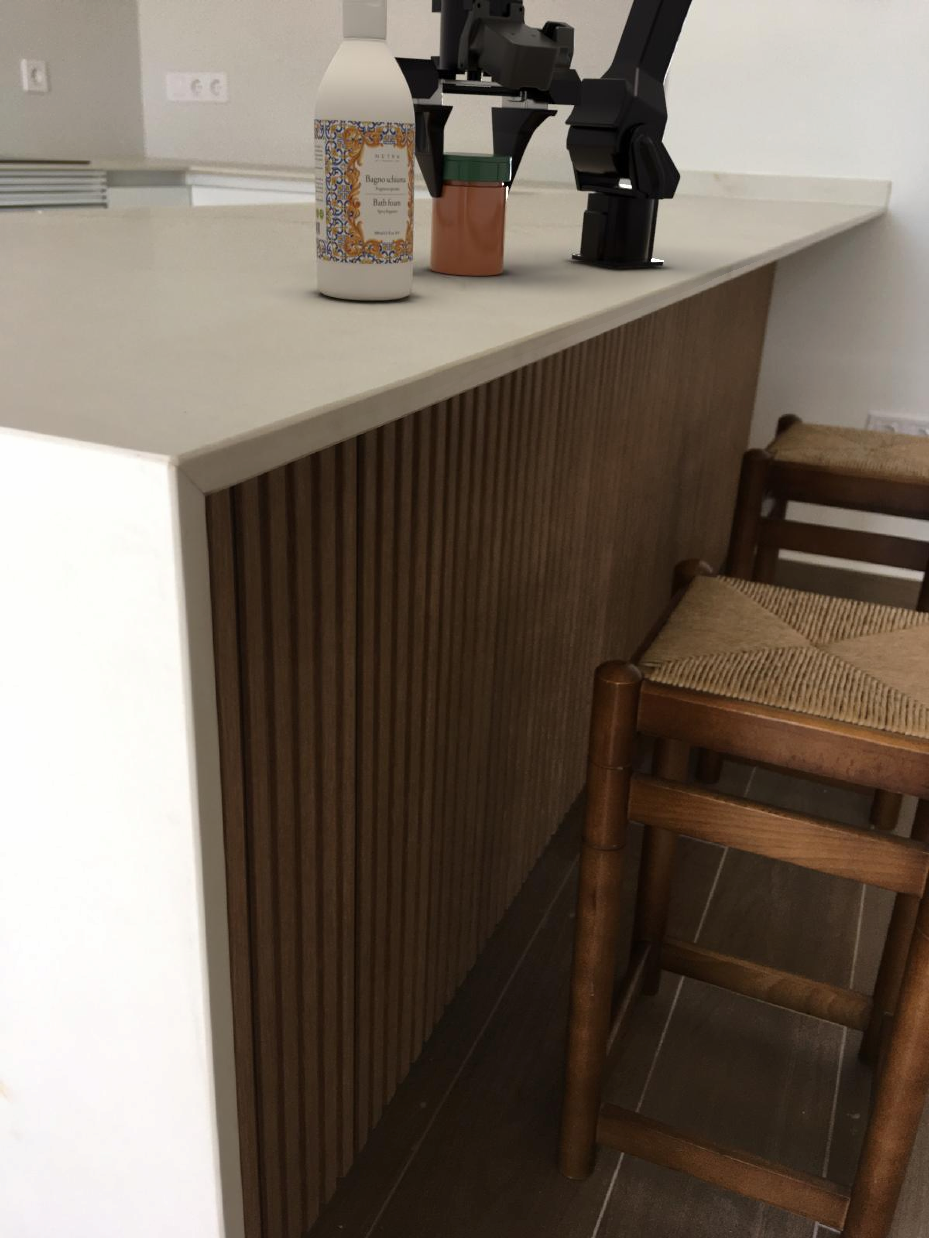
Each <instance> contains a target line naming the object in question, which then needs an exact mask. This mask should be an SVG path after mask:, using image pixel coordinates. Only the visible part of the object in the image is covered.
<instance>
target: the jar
mask: <svg viewBox="0 0 929 1238" xmlns="http://www.w3.org/2000/svg"><path fill="white" fill-rule="evenodd" d="M508 196H509V194H508V186H506V185H504V182H474V181H457V180H445V179H443V185H442V193H441V197H440V198H434V197H431V219H430V220H431V221H430V222H431V223H430V251H429V252H430V253H429V254H430V255H429V269H430V270H431V271H433V272H436V273H439V274H445V275H452V276H453V275H454V276H464V277H466V276H467V277H471V276H472V277H489V276H497V275H501V274H503V273H504V266H505V265H504V263H505V262H504V261H505V249H506V248H505V245H506V232H507V231H506V228H507V216H508V215H507V213H508Z"/></svg>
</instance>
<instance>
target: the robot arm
mask: <svg viewBox="0 0 929 1238" xmlns="http://www.w3.org/2000/svg"><path fill="white" fill-rule="evenodd" d="M692 3H693V0H633V1H632V4H631V7H630V10H629V12H628V15H627V18H626V21H625V25H624V28H623V30H622V33H621V37H620V39H619V41H618V45H617V47H616V51H615V54H614V57H613V59H612V62H611V64H610V66H609V68H607V70H606V71H605V72H604V73H603V74H602V75H601V77H600V78H597V77H596V78H594V77H593V78H592V77H589V78H587V77H584V78H582V80H581V78H580V76H579V74H578V72H577V69H576V68H571V66H572V63H573V59H574V55H575V27H573V26H572V25H570V24H568V23H566V22H565V21H564V22H563V21H552V20H547V21H546V22H545V23H544V25H543V27H542V28H540V27H531V26H529V25H527V24H526V22H525V21H526V20H525V15H526V14H525V13H526V12H525V11H526V9H525V5H524V0H431V13H433V14H440V16H439V17H440V21H439V55H430V59H428V58H413V57H401V56H400V57H399V56H394V58H395V60H396V62H397V64H398V65H399V67H400V69H401V71H402V73H403V75H404V77H405V80H406V82H407V84H408V87H409V90H410V93H411V97H412V101H413V107H414V115H415V160H416V162H417V165H418V167H419V169H420V173H421V175H422V178H423V180H424V183H425V186H426V188H427V191H428V193H429V196H430V197H431V198H432V197H434V198H440V197H441V193H442V185H443V166H444V152H445V128H446V125H447V123H448V120H449V118H450V116H451V113H452V112H453V108H454V105H448V104H447V105H444V104H443V94H445V95H446V94H447V95H467V96H485V97H487V96H488V97H501V106H491V111H490V112H491V131H492V151H493V153H492V154H498V155H507V156H512V161H511V162H512V165H511V180H510V181H508V182H504V185H506V186H508V195H509V193H510V191H511V189H512V185H513V184H514V180H515V179H516V175H517V173H518V170H519V167H520V165H521V163H522V160H523V157H524V154H525V152H526V149H527V148H528V145H529V143H530V141H531V139H532V137H533V136H534V133H535V132H536V130H537V129H538V128H539V127H540V126H541V125H542V124H543V123H544V122H545V121H546V120H547V119H548V118H549V117H556V116H557V114H558V111H559V110H558V109H549V105H554V106H555V105H557V106H573V108H572V110H571V112H570V114H569V115H568V117H567V119H565V121H564V124H565V125H566V126H569V128H568V131H567V136H566V140H565V148H566V150H567V151H568V154H569V158H570V161H571V164H572V171H573V176H574V182H575V187H576V190H577V192H588V193H587V200H586V201H587V202H586V204H587V205H586V209H585V210H584V212H583V215H582V228H581V238H580V249H579V253H572V254H571V260H574V261H579V262H582V263H583V262H584V263H588V264H594V265H598V266H602V267H603V266H604V267H609V268H614V269H620V268H643V267H663V266H664V260H661V259H656V258H653V254H654V245H655V238H656V237H655V236H656V229H657V221H658V214H659V213H658V212H659V204H660V201H662V200H673V199H674V197H675V195H676V191H677V189H678V186H679V183H680V181H681V173H680V172H679V170H678V168H677V166H676V164H675V163H674V160H673V159H672V157H671V155H670V153H669V151H668V149H667V148H666V146H665V144H664V142H663V140H664V136H665V132H666V128H667V125H668V119H669V117H668V116H669V114H668V107H667V99H666V93H665V92H666V91H665V86H664V85H665V79H666V77H667V73H668V71H669V68H670V65H671V62H672V60H673V57H674V54H675V51H676V48H677V45H678V42H679V40H680V37H681V34H682V31H683V29H684V25H685V23H686V20H687V17H688V14H689V12H690V9H691V6H692ZM457 75H458V76H459V75H460V76H461V75H463V76H465V75H466V79H457ZM482 78H490V81H485V80H482ZM621 180H623V181H629V182H630V185H629V184H623V183H621V184H620V181H621Z"/></svg>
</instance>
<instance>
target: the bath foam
mask: <svg viewBox="0 0 929 1238" xmlns="http://www.w3.org/2000/svg"><path fill="white" fill-rule="evenodd" d="M387 19H388V0H342V37H343V38H342V42H341V43H340V45H339V47H338V49H337V51H336V52H335V54H334V56H333V58H332V60H331V61H330V63H329V64H328V67H327V69H326V71H325V73H324V74H323V76H322V79H321V81H320V84H319V87H318V90H317V93H316V99H315V106H314V119H313V136H314V137H313V138H314V143H313V144H314V189H315V190H314V191H315V192H314V193H315V195H314V196H315V197H314V198H315V199H314V200H315V245H316V246H315V247H316V249H315V250H316V253H315V254H316V283H317V289H318V290H319V292H320V293H321V294H323V295H324V296H327V297H330V298H336V299H342V300H352V301H390V300H398V299H403V298H406V297H407V296H409V295H410V294H411V293H412V289H413V270H414V269H413V265H414V263H413V261H414V224H415V223H414V221H415V220H414V219H415V217H414V216H415V169H416V168H415V167H416V166H415V165H416V163H415V161H416V157H415V115H414V107H413V101H412V97H411V93H410V90H409V87H408V84H407V82H406V80H405V77H404V75H403V73H402V71H401V69H400V67H399V65H398V64H397V62H396V60H395V58H394V57H395V56H394V54H393V53H392V51H391V49H390V47H389V46H388V41H387V33H388V28H387V27H388V26H387V25H388V23H387V22H388V20H387Z"/></svg>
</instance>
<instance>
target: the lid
mask: <svg viewBox="0 0 929 1238" xmlns="http://www.w3.org/2000/svg"><path fill="white" fill-rule="evenodd" d="M511 161H512V156H507V155H498V154H493V153H482V152H462V151H461V152H460V151H444V166H443V179H445V180H457V181H474V182H508V181H510V180H511V165H512V162H511Z"/></svg>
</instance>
